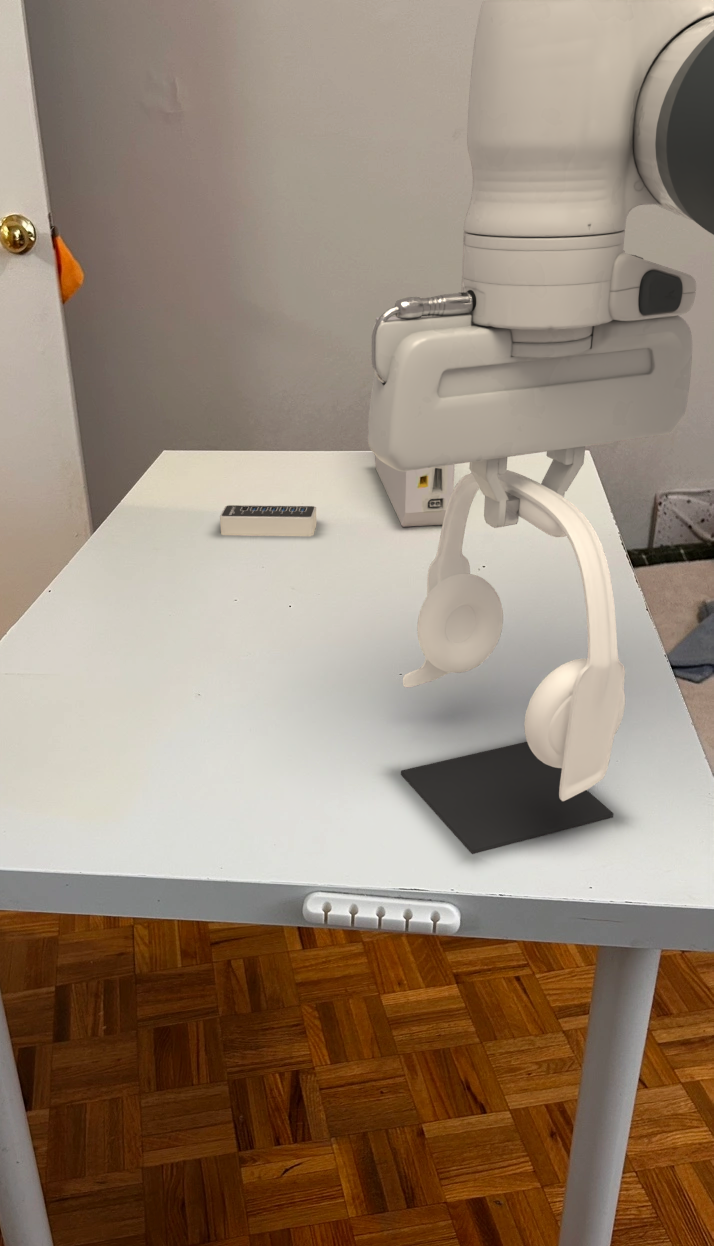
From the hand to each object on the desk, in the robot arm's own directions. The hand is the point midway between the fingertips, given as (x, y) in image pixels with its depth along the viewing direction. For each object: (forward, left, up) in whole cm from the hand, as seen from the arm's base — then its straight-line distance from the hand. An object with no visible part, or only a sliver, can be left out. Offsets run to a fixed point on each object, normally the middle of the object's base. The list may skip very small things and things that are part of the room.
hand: (523, 520), depth 69 cm
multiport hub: (-4, -62, -21) cm, 65 cm away
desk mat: (0, 0, -20) cm, 21 cm away
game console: (-25, -66, -21) cm, 73 cm away
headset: (0, 0, -15) cm, 15 cm away
